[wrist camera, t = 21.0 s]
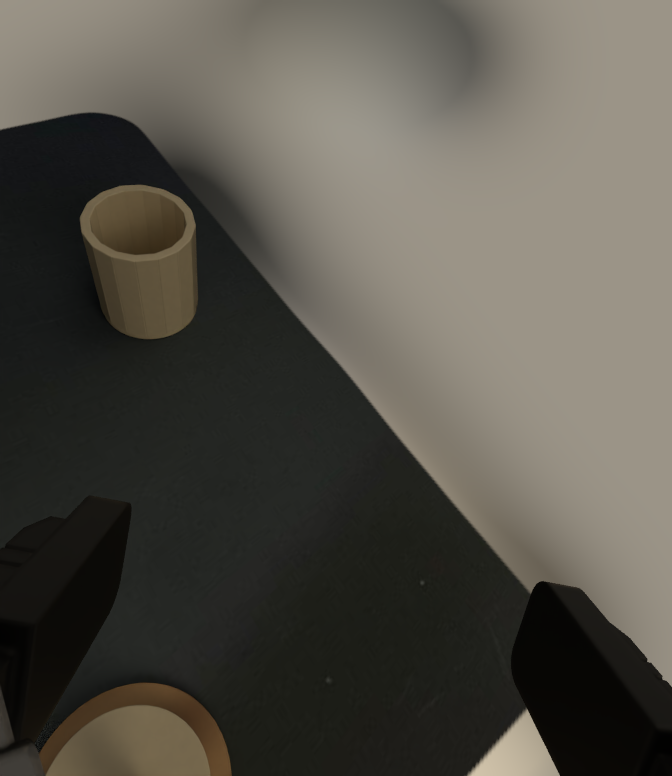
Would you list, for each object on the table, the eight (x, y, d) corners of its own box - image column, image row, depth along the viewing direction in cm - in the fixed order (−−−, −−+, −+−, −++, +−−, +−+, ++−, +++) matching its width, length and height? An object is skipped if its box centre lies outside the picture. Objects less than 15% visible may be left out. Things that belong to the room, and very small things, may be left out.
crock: (214, 295, 45) (215, 216, 38) (160, 354, 41) (149, 278, 34) (141, 256, 46) (129, 170, 39) (81, 310, 42) (55, 226, 35)
